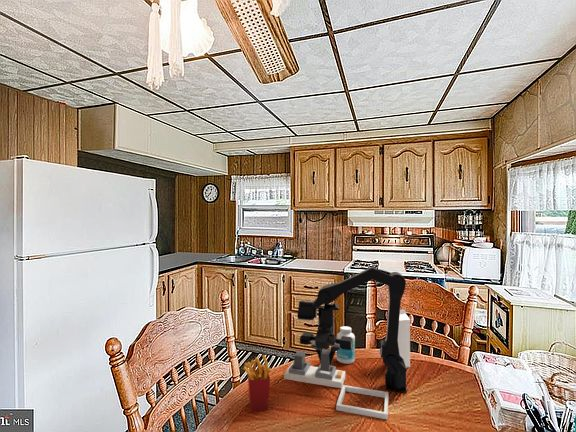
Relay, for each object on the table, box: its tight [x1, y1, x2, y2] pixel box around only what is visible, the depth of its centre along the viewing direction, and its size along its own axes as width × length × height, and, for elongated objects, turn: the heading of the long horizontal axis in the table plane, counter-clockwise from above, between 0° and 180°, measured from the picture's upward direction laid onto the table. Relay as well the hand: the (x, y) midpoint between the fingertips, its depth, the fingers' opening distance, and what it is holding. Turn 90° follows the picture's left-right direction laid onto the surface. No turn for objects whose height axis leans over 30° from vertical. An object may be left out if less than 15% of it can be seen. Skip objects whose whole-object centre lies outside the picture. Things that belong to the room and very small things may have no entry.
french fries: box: [243, 354, 272, 413], centre depth 103 cm, size 9×8×15 cm
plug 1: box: [293, 350, 306, 370], centre depth 123 cm, size 3×4×6 cm, turn 162°
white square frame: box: [335, 384, 389, 420], centre depth 104 cm, size 15×13×2 cm
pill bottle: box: [336, 325, 356, 365], centre depth 136 cm, size 8×7×14 cm
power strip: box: [283, 361, 346, 389], centre depth 121 cm, size 21×9×4 cm, turn 72°
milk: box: [398, 309, 411, 369], centre depth 132 cm, size 6×6×22 cm
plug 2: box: [320, 348, 332, 372], centre depth 120 cm, size 3×4×6 cm, turn 162°
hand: (326, 363), depth 120 cm, fingers closed on plug 2, 3 cm apart
